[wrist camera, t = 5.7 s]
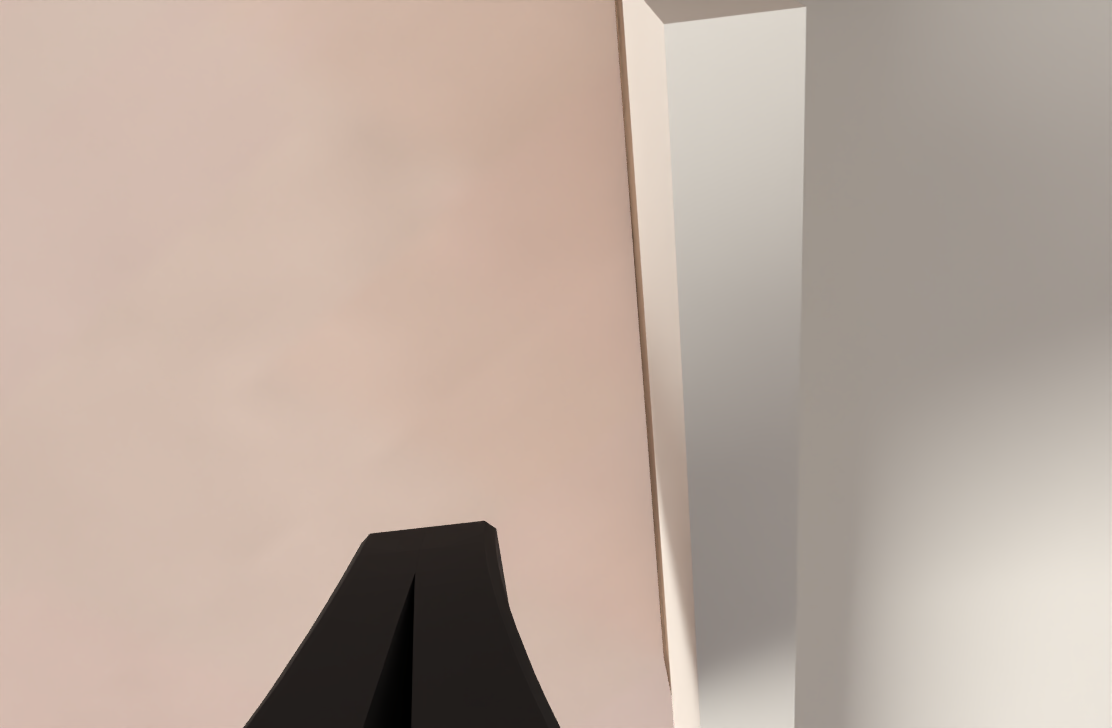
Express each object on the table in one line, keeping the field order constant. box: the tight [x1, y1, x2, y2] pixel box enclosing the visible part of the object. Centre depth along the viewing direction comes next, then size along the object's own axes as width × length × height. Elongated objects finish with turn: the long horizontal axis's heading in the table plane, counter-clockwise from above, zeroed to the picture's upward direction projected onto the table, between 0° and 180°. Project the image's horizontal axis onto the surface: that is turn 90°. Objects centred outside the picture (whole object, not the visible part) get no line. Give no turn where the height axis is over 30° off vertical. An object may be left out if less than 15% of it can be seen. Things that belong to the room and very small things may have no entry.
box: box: [615, 0, 672, 696], centre depth 13 cm, size 14×12×5 cm
